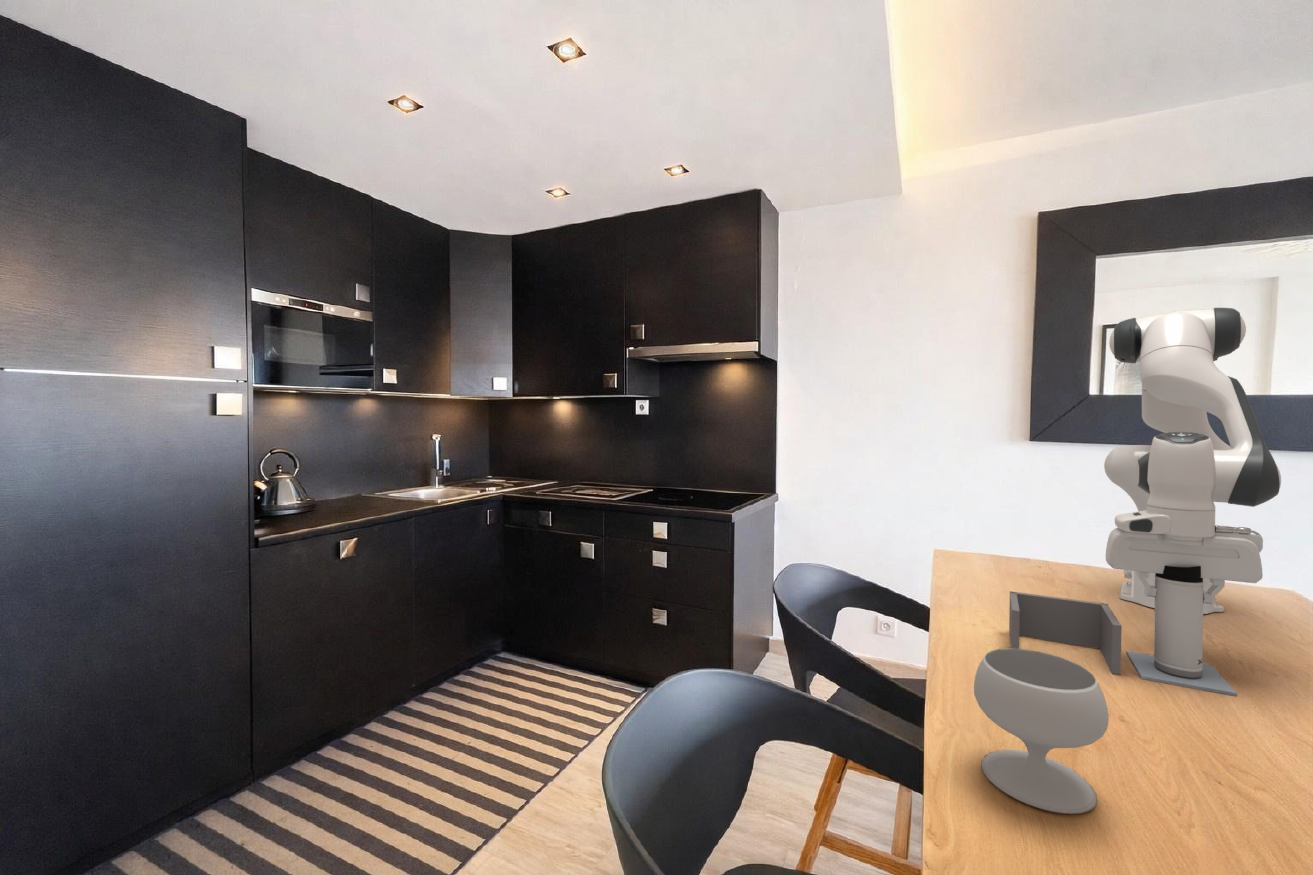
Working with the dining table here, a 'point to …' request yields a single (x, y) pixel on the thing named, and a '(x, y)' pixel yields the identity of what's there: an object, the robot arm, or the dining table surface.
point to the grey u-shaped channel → (1066, 624)
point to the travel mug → (1179, 621)
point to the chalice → (1040, 725)
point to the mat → (1206, 682)
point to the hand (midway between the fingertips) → (1178, 599)
